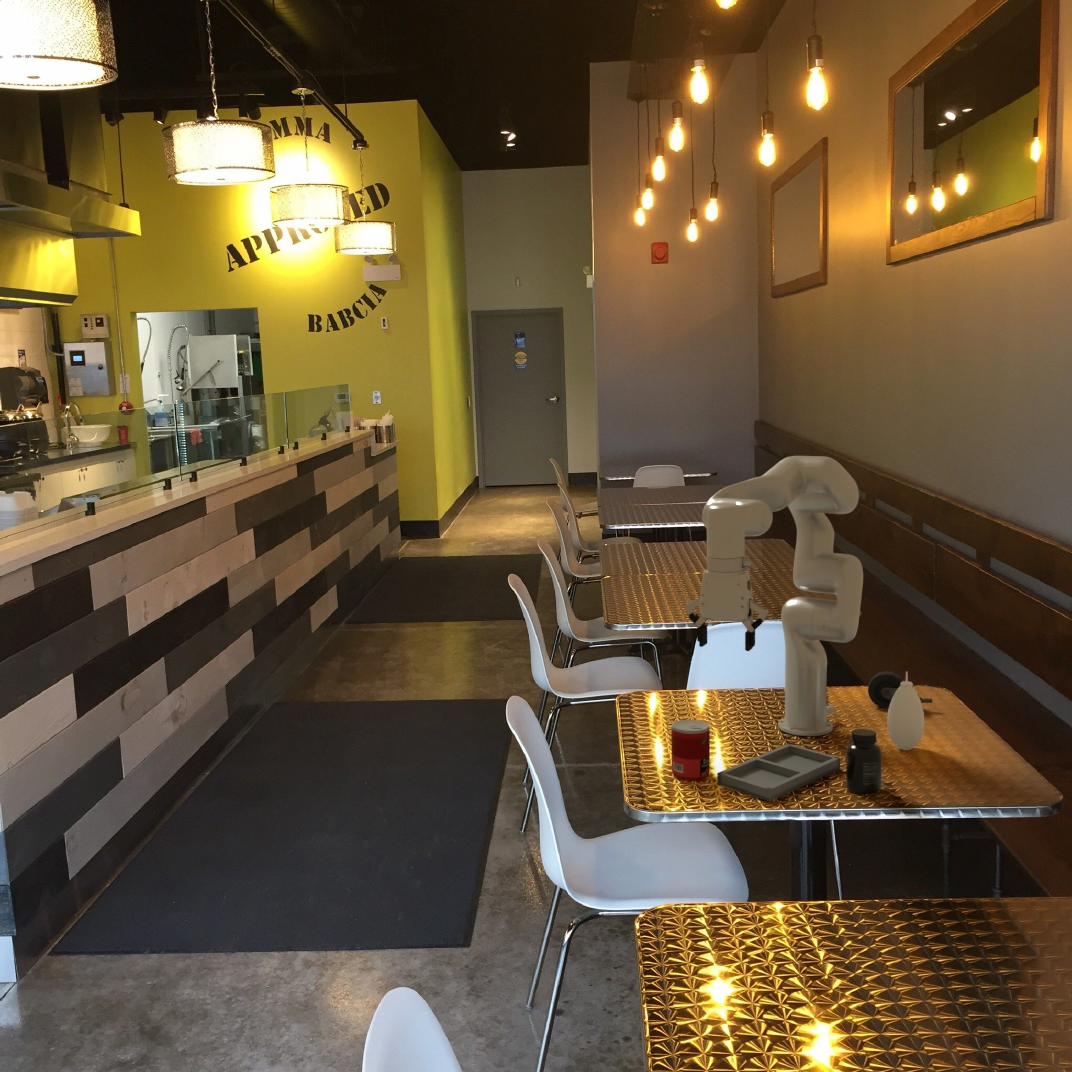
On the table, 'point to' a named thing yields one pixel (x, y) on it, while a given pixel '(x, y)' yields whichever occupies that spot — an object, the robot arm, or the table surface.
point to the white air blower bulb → (905, 717)
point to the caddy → (778, 772)
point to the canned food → (690, 750)
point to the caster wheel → (886, 689)
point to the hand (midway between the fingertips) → (725, 647)
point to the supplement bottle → (863, 763)
